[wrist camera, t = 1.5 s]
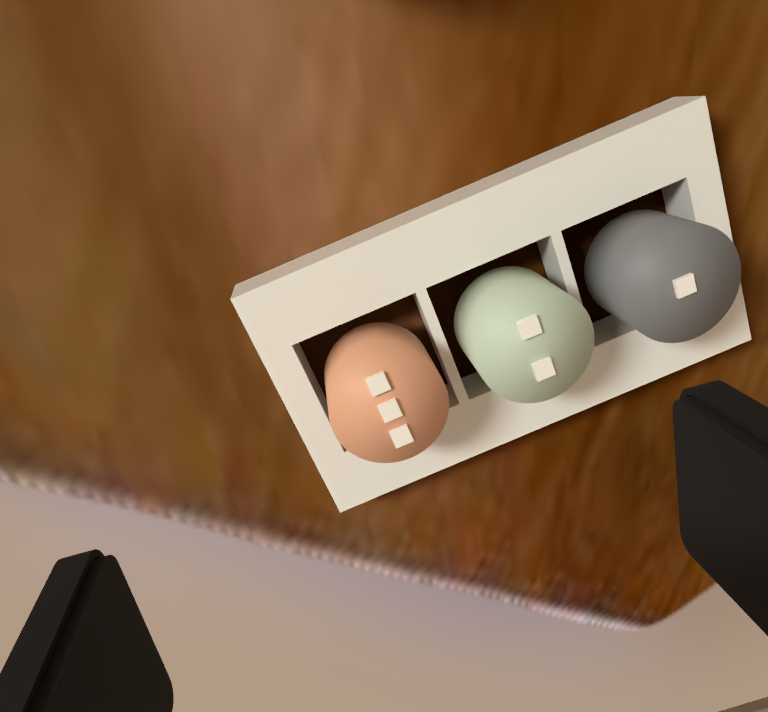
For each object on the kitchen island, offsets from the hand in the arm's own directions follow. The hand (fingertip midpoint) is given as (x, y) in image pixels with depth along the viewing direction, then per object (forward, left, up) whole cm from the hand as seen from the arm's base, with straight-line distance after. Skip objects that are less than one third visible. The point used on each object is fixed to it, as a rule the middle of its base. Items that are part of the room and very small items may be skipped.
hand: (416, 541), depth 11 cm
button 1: (-13, +5, -20) cm, 24 cm away
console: (-6, +5, -22) cm, 23 cm away
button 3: (0, +5, -20) cm, 20 cm away
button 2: (-6, +5, -20) cm, 21 cm away
